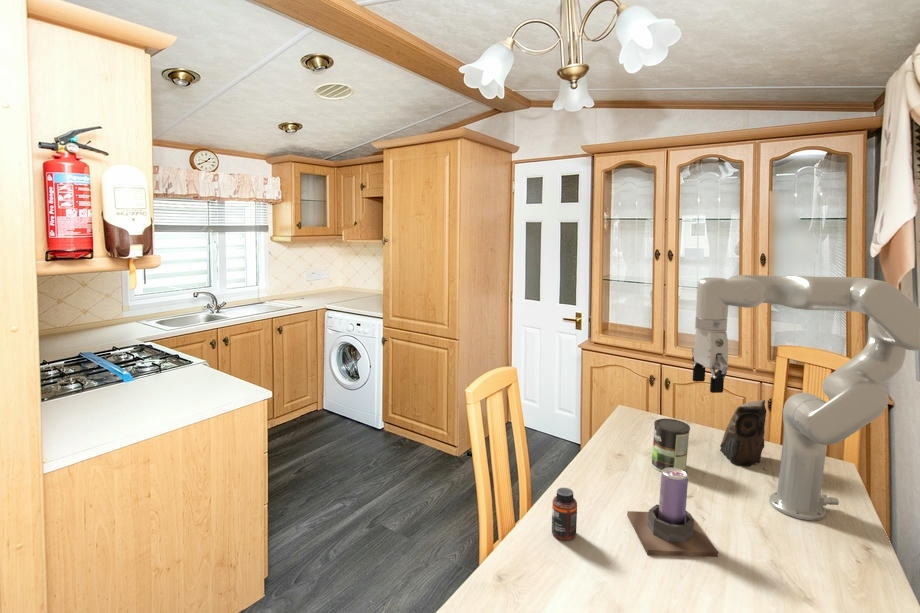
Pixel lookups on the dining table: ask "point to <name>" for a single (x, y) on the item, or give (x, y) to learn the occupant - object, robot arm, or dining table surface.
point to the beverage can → (673, 496)
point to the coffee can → (670, 444)
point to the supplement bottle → (564, 514)
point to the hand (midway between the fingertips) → (707, 386)
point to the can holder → (670, 535)
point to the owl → (745, 434)
